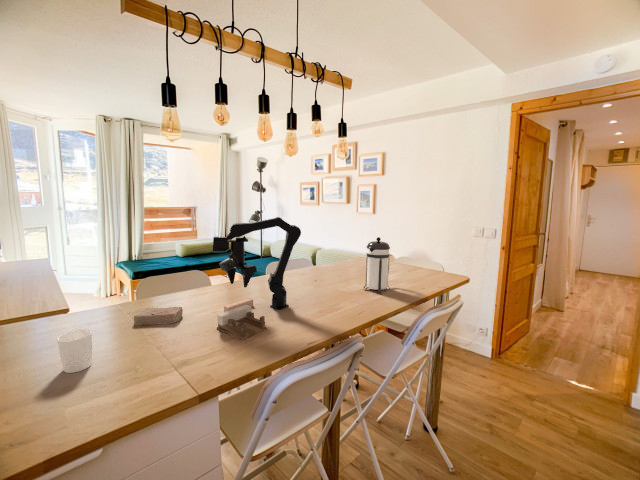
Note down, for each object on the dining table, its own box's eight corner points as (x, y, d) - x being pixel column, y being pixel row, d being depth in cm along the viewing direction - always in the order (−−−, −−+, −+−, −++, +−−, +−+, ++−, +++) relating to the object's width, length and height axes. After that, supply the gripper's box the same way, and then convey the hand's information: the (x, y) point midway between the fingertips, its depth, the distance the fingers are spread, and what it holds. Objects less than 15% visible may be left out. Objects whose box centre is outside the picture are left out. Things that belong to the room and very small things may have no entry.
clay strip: (249, 305, 145) (249, 298, 145) (253, 306, 143) (253, 299, 143) (224, 313, 134) (223, 306, 134) (228, 315, 132) (228, 307, 132)
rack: (241, 319, 127) (241, 307, 127) (266, 328, 119) (266, 316, 118) (216, 329, 118) (216, 316, 117) (242, 340, 109) (241, 326, 108)
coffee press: (394, 294, 164) (397, 239, 160) (365, 293, 165) (367, 238, 161) (387, 285, 182) (390, 235, 178) (361, 284, 182) (362, 234, 178)
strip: (246, 312, 126) (246, 304, 126) (251, 314, 125) (251, 306, 124) (217, 323, 115) (217, 314, 115) (222, 325, 113) (222, 316, 113)
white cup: (73, 360, 94) (70, 329, 93) (100, 359, 95) (97, 329, 93) (53, 375, 86) (49, 341, 85) (83, 374, 87) (79, 341, 86)
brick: (133, 326, 120) (132, 314, 120) (142, 317, 128) (141, 307, 128) (177, 324, 123) (176, 313, 122) (183, 316, 131) (183, 306, 130)
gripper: (209, 251, 134) (210, 286, 136) (236, 256, 123) (237, 294, 125) (230, 248, 143) (231, 280, 145) (257, 253, 132) (258, 287, 134)
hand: (238, 285), depth 137 cm, fingers open, 9 cm apart
